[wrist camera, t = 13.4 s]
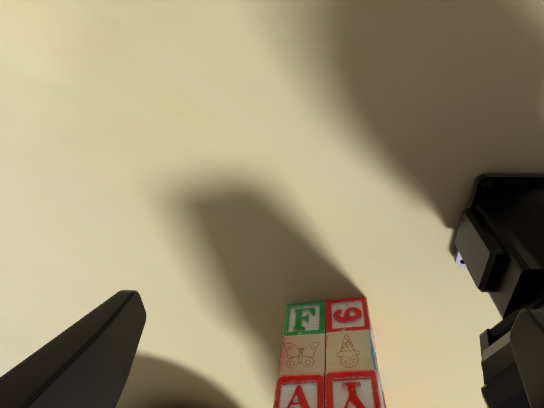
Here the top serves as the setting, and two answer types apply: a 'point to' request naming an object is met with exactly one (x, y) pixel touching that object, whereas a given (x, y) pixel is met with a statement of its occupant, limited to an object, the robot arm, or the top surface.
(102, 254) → the top surface
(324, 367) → the stack of blocks
